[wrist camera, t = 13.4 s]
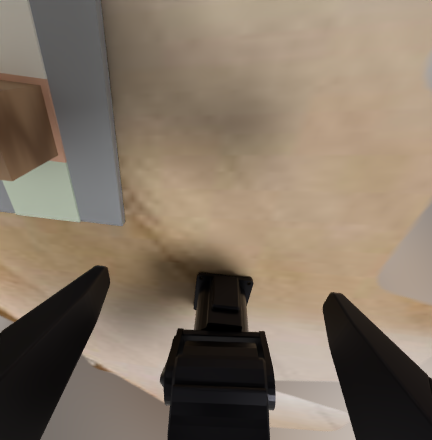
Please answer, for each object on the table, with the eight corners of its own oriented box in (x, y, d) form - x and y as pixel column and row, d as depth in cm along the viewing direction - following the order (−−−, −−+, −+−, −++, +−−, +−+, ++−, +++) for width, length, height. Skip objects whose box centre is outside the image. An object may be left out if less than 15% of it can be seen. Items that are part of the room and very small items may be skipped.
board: (125, 221, 24) (121, 227, 23) (-18, 204, 24) (-27, 209, 23) (97, -30, 14) (89, -36, 13) (-152, -69, 14) (-177, -77, 13)
